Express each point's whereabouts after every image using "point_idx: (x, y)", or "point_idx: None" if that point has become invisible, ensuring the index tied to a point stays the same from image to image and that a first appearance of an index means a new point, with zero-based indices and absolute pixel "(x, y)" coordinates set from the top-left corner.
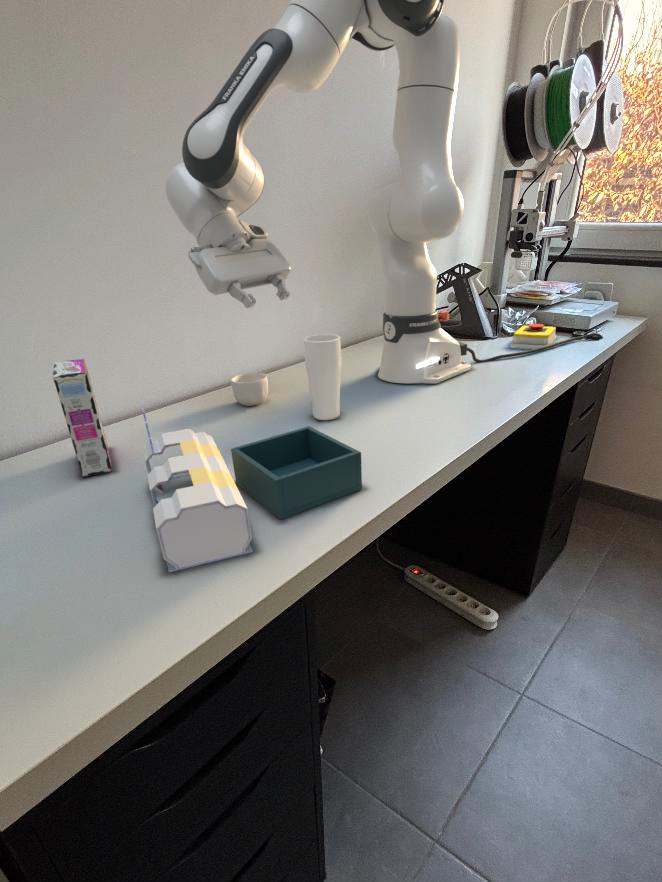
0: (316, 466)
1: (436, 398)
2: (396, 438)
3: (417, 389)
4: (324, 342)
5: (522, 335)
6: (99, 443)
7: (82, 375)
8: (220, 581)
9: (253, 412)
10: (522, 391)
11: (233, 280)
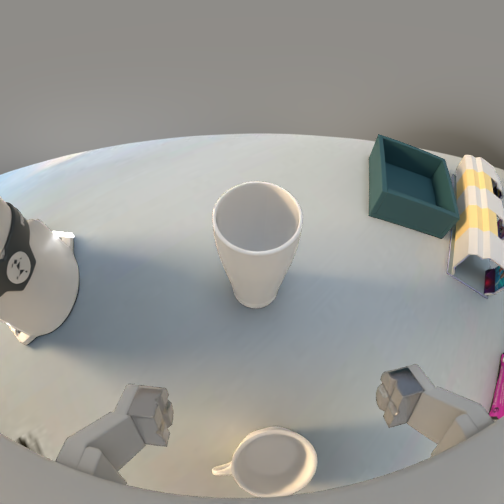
0: (416, 148)
1: (122, 209)
2: (267, 179)
3: (94, 246)
4: (285, 189)
5: None
6: None
7: None
8: None
9: (309, 410)
10: (86, 161)
11: (501, 418)
